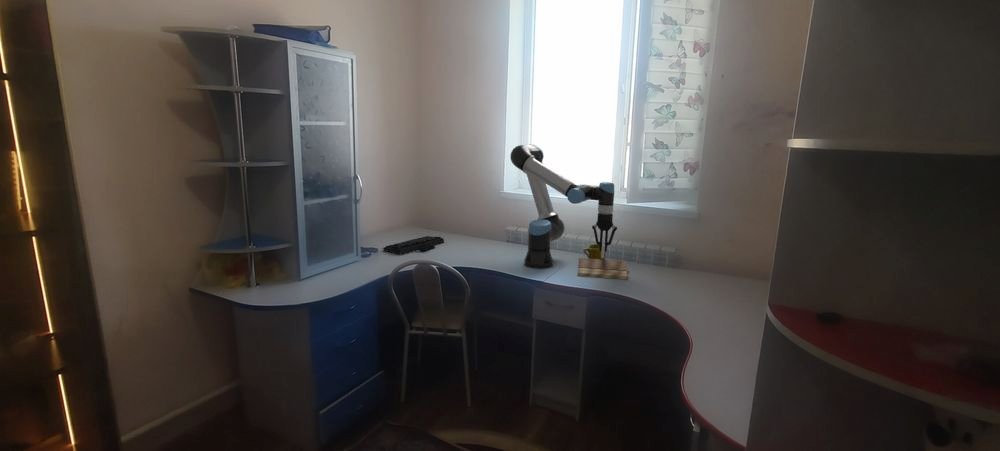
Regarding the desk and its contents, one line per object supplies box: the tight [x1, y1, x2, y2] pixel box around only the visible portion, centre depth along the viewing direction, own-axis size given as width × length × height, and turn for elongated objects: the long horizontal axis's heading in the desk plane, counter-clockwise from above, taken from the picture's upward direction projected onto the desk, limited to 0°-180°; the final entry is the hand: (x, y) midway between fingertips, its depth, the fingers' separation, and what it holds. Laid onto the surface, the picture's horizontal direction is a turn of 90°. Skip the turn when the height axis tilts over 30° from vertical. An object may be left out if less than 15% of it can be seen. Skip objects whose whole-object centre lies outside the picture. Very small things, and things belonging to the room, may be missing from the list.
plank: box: [577, 257, 627, 272], centre depth 246 cm, size 24×7×2 cm, turn 79°
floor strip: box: [577, 267, 628, 280], centre depth 239 cm, size 24×9×2 cm, turn 79°
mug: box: [582, 243, 606, 260], centre depth 264 cm, size 12×10×10 cm
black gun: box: [382, 235, 445, 255], centre depth 283 cm, size 37×22×5 cm, turn 145°
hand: (602, 257), depth 248 cm, fingers closed
